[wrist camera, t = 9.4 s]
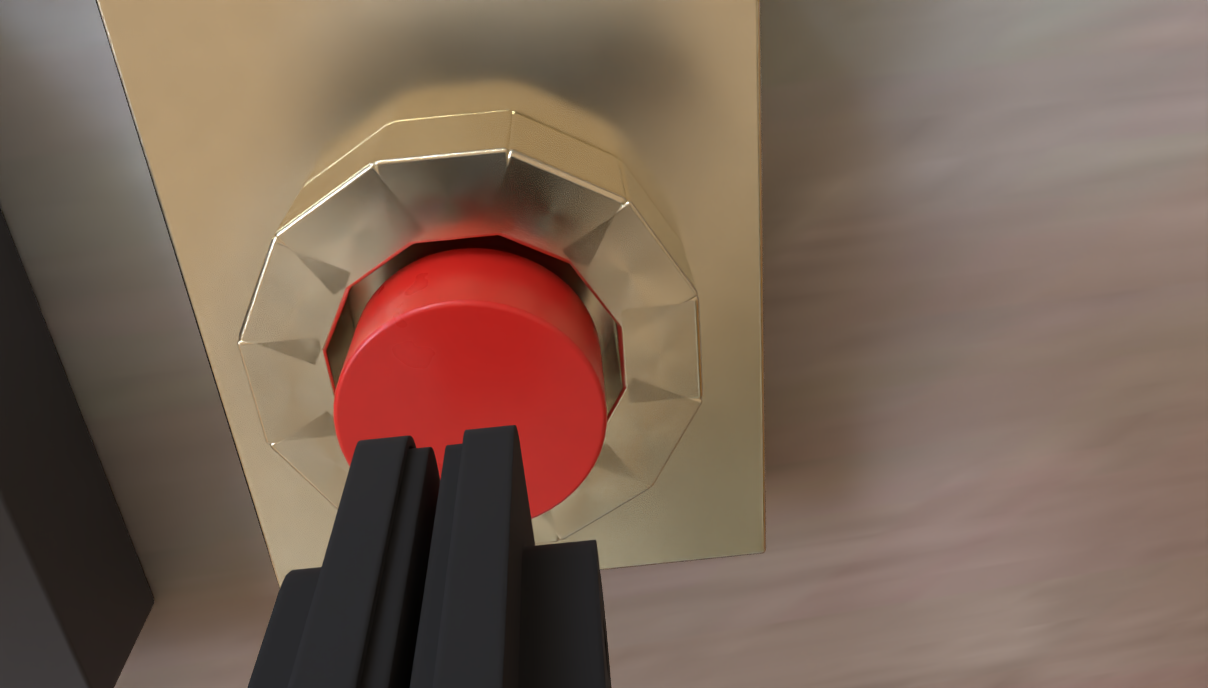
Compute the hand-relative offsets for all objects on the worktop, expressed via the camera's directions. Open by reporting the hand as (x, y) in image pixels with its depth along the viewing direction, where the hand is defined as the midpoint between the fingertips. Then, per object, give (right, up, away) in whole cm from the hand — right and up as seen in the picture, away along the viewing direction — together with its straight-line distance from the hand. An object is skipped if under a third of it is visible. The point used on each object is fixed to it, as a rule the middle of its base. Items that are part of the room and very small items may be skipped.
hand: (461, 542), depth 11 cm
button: (0, +2, +4) cm, 4 cm away
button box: (0, +4, +7) cm, 8 cm away
